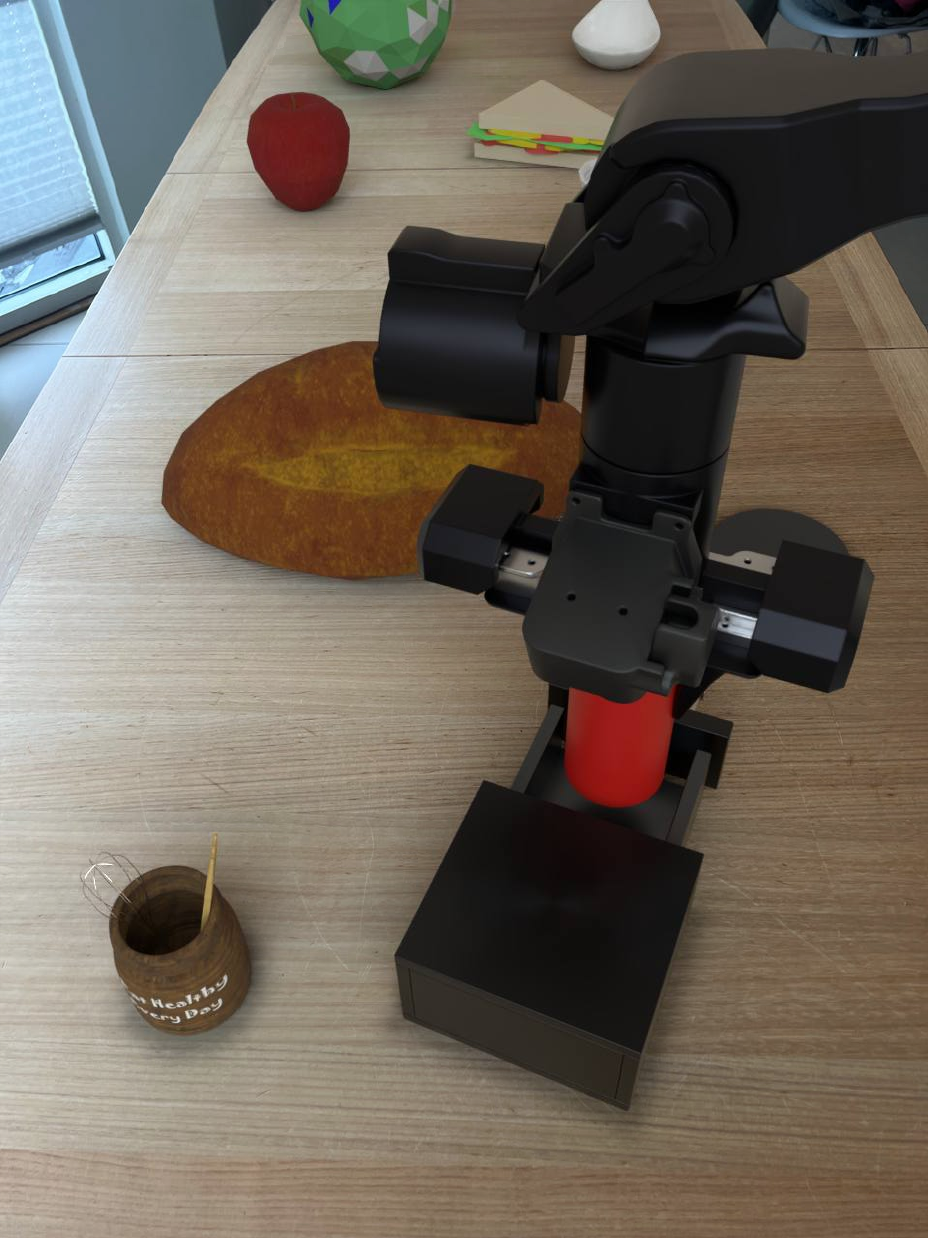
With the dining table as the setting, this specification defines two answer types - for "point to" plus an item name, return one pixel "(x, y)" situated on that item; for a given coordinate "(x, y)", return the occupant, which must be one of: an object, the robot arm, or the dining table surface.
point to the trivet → (771, 533)
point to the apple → (299, 148)
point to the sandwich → (541, 128)
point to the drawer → (669, 808)
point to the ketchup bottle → (617, 746)
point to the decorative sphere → (378, 37)
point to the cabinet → (549, 941)
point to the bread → (342, 467)
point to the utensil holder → (178, 947)
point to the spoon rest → (617, 34)
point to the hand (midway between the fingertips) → (622, 696)
